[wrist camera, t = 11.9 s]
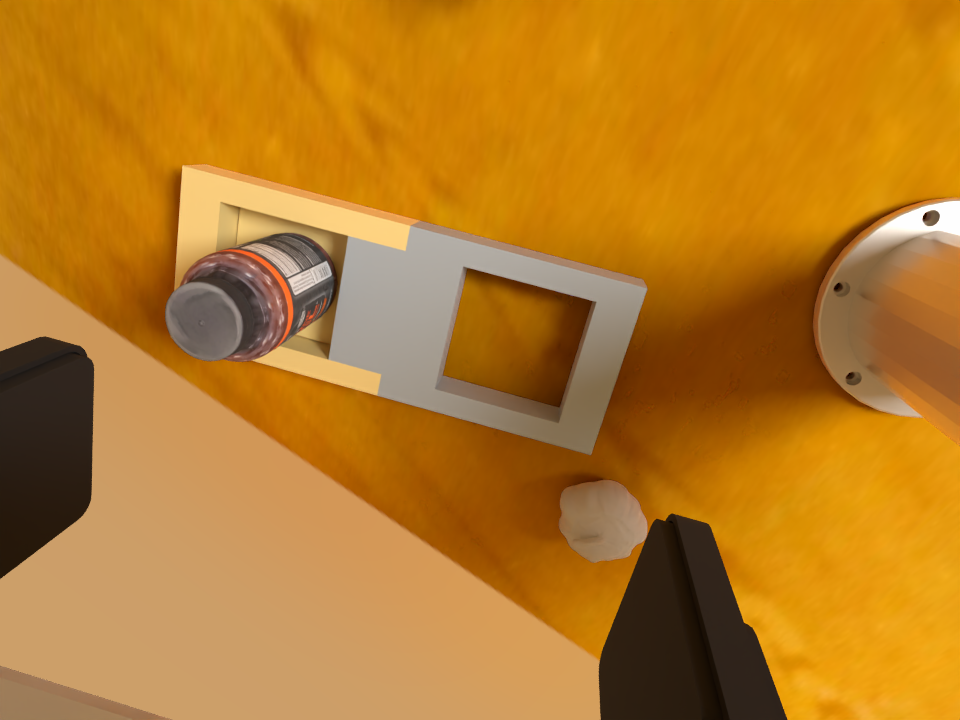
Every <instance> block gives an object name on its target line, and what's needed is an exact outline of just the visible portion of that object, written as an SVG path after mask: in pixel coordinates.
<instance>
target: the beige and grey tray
mask: <svg viewBox="0 0 960 720" xmlns="http://www.w3.org/2000/svg"><path fill="white" fill-rule="evenodd" d="M279 233H297V234H301V235H304V236H306V237H308V238H310V239H312V240H314V241H315V242H317V243H318V244H319V245H320V246H321V247H322V248H323V249H324V250H325V251H326V252H327V253H328V255H329V256H330V258H331V260H332V262H333V264H334V267H335V270H336V274H337V281H338V285H337V291H336V295H335V298H334V301H333V303H332V304H331V306H330V307H329V309H328V310H327V311H326V312H325V313H324V314H323V315H322V317H321V318H319V319H318V320H316V321H315V322H313V323H312V324H310V325H309V326H307V327H306V328H305V329H303V330H302V331H300V332H298V333H297V334H296V335H294V336H293V337H291V338H290V339H289V340H287V341H286V342H284V343H283V344H281V345H280V346H279V347H277V348H276V349H275V350H273V351H271V352H270V353H268V354H266V355H264V356H262V357H260V358H258V359H255V360H252V361H255V362H259V363H262V364H266V365H269V366H273V367H277V368H280V369H284V370H287V371H291V372H295V373H298V374H302V375H305V376H309V377H312V378H316V379H320V380H323V381H327V382H330V383H334V384H338V385H341V386H345V387H348V388H352V389H355V390H359V391H363V392H366V393H370V394H373V395H377V396H381V397H384V398H388V399H391V400H395V401H398V402H402V403H406V404H409V405H413V406H416V407H420V408H424V409H427V410H431V411H434V412H438V413H441V414H445V415H449V416H452V417H456V418H459V419H463V420H466V421H470V422H474V423H477V424H481V425H484V426H488V427H492V428H495V429H499V430H502V431H506V432H509V433H513V434H517V435H520V436H524V437H527V438H531V439H535V440H538V441H542V442H545V443H549V444H552V445H556V446H560V447H563V448H567V449H570V450H574V451H578V452H581V453H585V454H588V455H591V454H592V451H593V448H594V445H595V442H596V439H597V436H598V433H599V430H600V427H601V424H602V421H603V418H604V415H605V412H606V409H607V406H608V404H609V401H610V398H611V395H612V392H613V389H614V386H615V383H616V380H617V377H618V374H619V371H620V368H621V365H622V362H623V359H624V356H625V353H626V350H627V347H628V345H629V342H630V339H631V336H632V333H633V330H634V327H635V324H636V321H637V318H638V315H639V312H640V309H641V306H642V303H643V300H644V297H645V294H646V291H647V286H646V284H645V282H644V280H643V279H640V278H636V277H632V276H628V275H624V274H620V273H617V272H613V271H609V270H605V269H601V268H598V267H594V266H590V265H586V264H582V263H579V262H575V261H571V260H567V259H563V258H560V257H556V256H552V255H548V254H544V253H541V252H537V251H533V250H529V249H525V248H522V247H518V246H514V245H510V244H506V243H503V242H499V241H495V240H491V239H487V238H484V237H480V236H476V235H472V234H468V233H465V232H461V231H457V230H453V229H449V228H446V227H442V226H438V225H434V224H430V223H427V222H423V221H419V220H415V219H411V218H408V217H404V216H400V215H396V214H392V213H389V212H385V211H381V210H377V209H373V208H370V207H366V206H362V205H358V204H354V203H351V202H347V201H343V200H339V199H335V198H332V197H328V196H324V195H320V194H316V193H313V192H309V191H305V190H301V189H297V188H294V187H290V186H286V185H282V184H278V183H275V182H271V181H267V180H263V179H259V178H256V177H252V176H248V175H244V174H240V173H237V172H233V171H229V170H225V169H221V168H218V167H214V166H210V165H206V164H203V165H187V166H182V180H181V195H180V210H179V225H178V240H177V256H176V271H175V286H174V291H175V290H176V289H177V288H178V287H180V283H181V281H182V279H183V276H184V275H185V273H186V272H187V270H188V269H189V268H190V267H191V266H192V265H193V264H194V263H195V262H196V261H198V260H199V259H201V258H203V257H205V256H207V255H209V254H212V253H215V252H218V251H220V250H224V249H227V248H231V247H234V246H237V245H240V244H243V243H247V242H250V241H253V240H257V239H260V238H263V237H267V236H270V235H274V234H279ZM236 242H237V243H236ZM467 268H471V269H475V270H478V271H482V272H486V273H490V274H493V275H497V276H501V277H505V278H509V279H512V280H516V281H520V282H524V283H527V284H531V285H535V286H539V287H542V288H546V289H550V290H554V291H557V292H561V293H565V294H569V295H572V296H576V297H580V298H584V299H587V300H591V301H592V305H591V308H590V311H589V314H588V318H587V321H586V324H585V327H584V331H583V334H582V337H581V340H580V343H579V347H578V350H577V353H576V356H575V360H574V363H573V366H572V369H571V373H570V376H569V379H568V382H567V385H566V389H565V392H564V395H563V398H562V402H561V405H560V408H559V407H555V406H552V405H548V404H545V403H541V402H537V401H534V400H530V399H526V398H523V397H519V396H516V395H512V394H508V393H505V392H501V391H497V390H494V389H490V388H487V387H483V386H479V385H476V384H472V383H468V382H465V381H461V380H458V379H454V378H450V377H447V376H443V371H444V367H445V363H446V358H447V354H448V350H449V345H450V341H451V337H452V332H453V328H454V324H455V320H456V315H457V311H458V307H459V302H460V298H461V294H462V290H463V285H464V281H465V277H466V272H467ZM298 335H299V336H298ZM305 337H306V338H305ZM171 338H172V337H171ZM309 338H310V339H309ZM312 339H313V340H312ZM316 340H317V341H316ZM320 341H321V342H320ZM323 342H324V343H323ZM327 343H328V344H327Z"/></svg>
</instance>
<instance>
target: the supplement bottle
mask: <svg viewBox="0 0 960 720" xmlns="http://www.w3.org/2000/svg"><path fill="white" fill-rule="evenodd" d="M337 285H338V281H337V274H336V270H335V267H334V264H333V262H332V260H331V258H330V256H329V255H328V253H327V252H326V251H325V250H324V249H323V248H322V247H321V246H320V245H319V244H318V243H317V242H315V241H314V240H312V239H310V238H308V237H306V236H304V235H301V234H297V233H279V234H274V235H270V236H267V237H263V238H260V239H257V240H253V241H250V242H247V243H243V244H240V245H237V246H234V247H231V248H227V249H224V250H220V251H218V252H215V253H212V254H209V255H207V256H205V257H203V258H201V259H199V260H198V261H196V262H195V263H194V264H193V265H192V266H191V267H190V268H189V269H188V270H187V272H186V273H185V275H184V276H183V279H182V281H181V283H180V287H178V288H177V289H176V290H175V291H174V292H173V293H172V294H171V296H170V297H169V299H168V301H167V304H166V310H165V320H166V325H167V328H168V331H169V333H170V335H171V337H172V338H173V340H174V342H175V343H176V344H177V345H178V346H179V347H180V348H181V349H182V350H183V351H184V352H186V353H187V354H189V355H190V356H193V357H195V358H197V359H201V360H204V361H217V360H221V359H224V360H228V361H236V362H244V361H251V360H255V359H258V358H260V357H262V356H264V355H266V354H268V353H270V352H271V351H273V350H275V349H276V348H277V347H279V346H280V345H281V344H283V343H284V342H286V341H287V340H289V339H290V338H291V337H293V336H294V335H296V334H297V333H298V332H300V331H302V330H303V329H305V328H306V327H307V326H309V325H310V324H312V323H313V322H315V321H316V320H318V319H319V318H321V317H322V315H323V314H324V313H325V312H326V311H327V310H328V309H329V307H330V306H331V304H332V303H333V301H334V298H335V295H336V291H337Z"/></svg>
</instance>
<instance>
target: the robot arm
mask: <svg viewBox="0 0 960 720" xmlns="http://www.w3.org/2000/svg"><path fill="white" fill-rule="evenodd" d="M925 212H926V213H927V217H926V219H925V220H923V221H922V217H923V215H924V214H925ZM837 283H840V287H839V288H838V289H837V290H834V286H835V285H836V284H837ZM813 331H814V338H815V344H816V348H817V350H818V353H819V356H820V358H821V361H822V363H823V365H824V366H825V368H826V369H827V371H828V372H829V374H830V375H831V377H832V378H833V379H834V380H835V381H836V382H837V383H838V384H839V385H840V386H841V387H842V388H843V389H844V390H845V391H846V392H848V393H849V394H850V395H852V396H853V397H854V398H856V399H857V400H858V401H860V402H862V403H864V404H866V405H868V406H870V407H872V408H874V409H876V410H878V411H882V412H886V413H890V414H893V415H897V416H906V417H917V418H923V417H924V418H925V419H926V420H927V421H929V422H930V423H931V424H932V425H934V426H935V427H936V428H937V429H939V430H940V431H941V432H943V433H944V434H945V435H946V436H948V437H949V438H950V439H951V440H953V441H954V442H955V443H956V444H958V445H959V446H960V198H955V197H950V198H942V199H934V200H927V201H923V202H920V203H917V204H913V205H910V206H907V207H903V208H901V209H899V210H897V211H895V212H893V213H891V214H889V215H887V216H885V217H883V218H881V219H879V220H878V221H876V222H875V223H873V224H872V225H871V226H869V227H868V228H866V229H865V230H863V231H862V232H860V233H859V234H858V235H857V236H856V237H855V238H854V239H853V240H852V241H851V242H850V243H849V244H848V245H847V246H846V247H845V248H844V249H843V250H842V251H841V253H840V254H839V256H838V257H837V258H836V260H835V261H834V262H833V264H832V265H831V266H830V268H829V270H828V272H827V274H826V276H825V278H824V280H823V282H822V284H821V286H820V288H819V292H818V296H817V299H816V303H815V307H814V319H813ZM850 372H852V373H851V375H850V376H848V377H846V376H847V375H848V374H849V373H850ZM93 393H94V365H93V362H92V360H91V359H89V358H88V357H87V354H86V352H85V350H84V349H83V348H82V347H81V346H77V345H74V344H70V343H67V342H63V341H60V340H56V339H52V338H49V337H39V338H36V339H33V340H31V341H28V342H25V343H22V344H20V345H17V346H14V347H11V348H9V349H6V350H3V351H0V578H2V577H3V576H5V575H6V574H7V573H8V572H10V571H11V570H12V569H14V568H15V567H17V566H18V565H19V564H20V563H22V562H23V561H24V560H26V559H27V558H28V557H30V556H31V555H32V554H34V553H35V552H36V551H37V550H39V549H40V548H41V547H43V546H44V545H45V544H47V543H48V542H49V541H51V540H52V539H53V538H55V537H56V536H57V535H59V534H60V533H61V532H62V531H64V530H65V529H66V528H68V527H69V526H70V525H72V524H73V523H74V522H76V521H77V520H78V519H79V518H80V517H81V516H83V514H84V513H85V512H86V510H87V508H88V506H89V504H90V501H91V490H92V442H93V440H92V439H93V437H92V436H93ZM599 689H600V713H601V720H787V717H786V715H785V712H784V709H783V706H782V704H781V701H780V698H779V695H778V693H777V690H776V687H775V685H774V682H773V679H772V676H771V674H770V671H769V668H768V665H767V663H766V660H765V657H764V654H763V652H762V649H761V646H760V644H759V641H758V638H757V636H756V634H755V632H754V630H753V628H752V627H750V626H749V625H748V624H745V623H744V622H743V619H742V616H741V613H740V610H739V607H738V604H737V601H736V599H735V596H734V593H733V590H732V587H731V584H730V581H729V579H728V576H727V573H726V570H725V567H724V564H723V561H722V559H721V556H720V553H719V550H718V547H717V544H716V541H715V539H714V536H713V533H712V530H711V527H710V526H709V524H707V523H704V522H700V521H697V520H693V519H690V518H686V517H683V516H679V515H675V514H670V515H669V516H668V518H667V519H666V521H663V520H659V519H656V520H655V521H654V522H653V524H652V526H651V528H650V531H649V533H648V536H647V538H646V541H645V543H644V546H643V548H642V551H641V553H640V556H639V559H638V561H637V564H636V566H635V569H634V571H633V574H632V576H631V579H630V581H629V584H628V586H627V589H626V591H625V594H624V597H623V599H622V602H621V604H620V607H619V609H618V612H617V614H616V617H615V619H614V622H613V624H612V627H611V629H610V632H609V635H608V637H607V640H606V642H605V645H604V647H603V650H602V654H601V658H600V664H599ZM0 720H171V719H168V718H165V717H161V716H158V715H155V714H152V713H148V712H146V711H142V710H139V709H136V708H133V707H130V706H127V705H124V704H120V703H117V702H114V701H111V700H108V699H105V698H101V697H98V696H95V695H92V694H88V693H85V692H82V691H79V690H76V689H73V688H69V687H66V686H63V685H60V684H56V683H53V682H50V681H47V680H43V679H41V678H37V677H34V676H31V675H28V674H24V673H21V672H18V671H15V670H12V669H9V668H6V667H2V666H0Z"/></svg>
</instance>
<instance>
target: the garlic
mask: <svg viewBox="0 0 960 720" xmlns="http://www.w3.org/2000/svg"><path fill="white" fill-rule="evenodd" d="M560 508H561V511H562V514H561V517H560V519H559V529H560V531H561V533H562V534H563V535H564V536H565V537H566V539H567V542H568V544H569V546H570V547H571V548H572V549H573V550H574V551H576V552H577V553H578V554H580V555H581V556H582V557H584V558H586V559H587V560H589V561H590V562H592V563H596V562H598V561H602V560H605V561H611V560H614V559H621V558H626V557H628V556H630V555H631V551H632V549H633V548H634V547H635V546H636V545H637V544H640V543H642V542H643V541H644V540H645V538H646V536H647V520H646V518H645V516H644V514H643V512H642V511H641V507H640V503H639V502H638V500H637V499H636V498H635V497H634V496H632V495H631V494H630V493H629V492H628V490H627V489H626V487H625V486H623V485H622V484H620V483H618V482H616V481H613V480H600V481H594V482H586V483H581V484H579V485H574V486H569V487H567V488H565V489H564V490H563V492H562V494H561V498H560Z"/></svg>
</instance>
